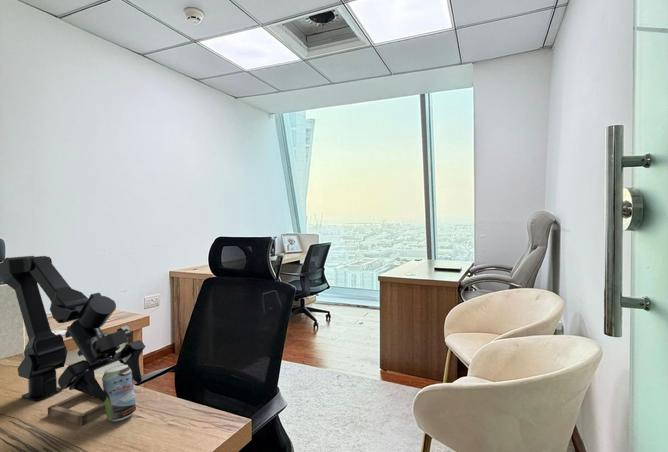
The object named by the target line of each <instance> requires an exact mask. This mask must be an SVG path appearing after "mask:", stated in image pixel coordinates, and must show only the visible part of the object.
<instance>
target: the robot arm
mask: <svg viewBox="0 0 668 452" xmlns="http://www.w3.org/2000/svg"><path fill="white" fill-rule="evenodd" d="M0 275H1V277H2V280H3V282H4V283H5V284H6V285H7V286H9V287H10V288H11V289H13V290H14V292H15V295H16V298H17V302H18V306H19V309H20V313H21V316H22V320H23V324H24V327H25V329H26V334H27V338H28V341H27V343H26V345H25V348H24V350H23V355H24V358H23V360H22V361H21V362H20V363H19V365H18V367H17V373H18V377H20V378H24V379H26V380H27V391H28V392H27V393H25V394H22V395H21V398H22V399H26V400H30V401H34V402H39V401H40V400H43V399H45V398H48V397H51V396H53V395H56V394H57V393H59V392H62V391H64V390H66V389H69V391H73V390H75V391H78V392H79V393H81V392H83V393H86V394H88V395H90V396H92V397H95V398H97V399H96V400H99V401H101V402H105V400H106V399H107V397H106V395H105V393H104V391H103V387H102V386H101V385H100V384H99V382H98V380H97V378H96V375H95V371H96V370H98V369H102V368H103V367H106V366H109V365H111V364H113V363H116V362H119V363H120V364H122V365H128V367H129V368H130V369H131V371H132V379H133V381H135V383H137V384H140V383H141V382H142V381H143V379H142V375H141V367H140V361H139V360H140V356H141V355H142V354H143V351H144V349H145V348H146V345H145V343H144V342H143V340H141V339H139V340H138V339H136V340H134V341H132V342H129V340H128V339H130V338H132V337H133V333H132V329H131V328H130V327H129V326H128V325H124V326H121V327H120V328H117V330H116V331H115V332H112V333H109V332H105V333H104V332H103V330H102V329H101V327H103V326H104V325H105V324H106V323H107V321H108V320H109V319H110V317H111V316H112V314H113V313H114V312H115V311H116V308H117V304H116V302H115V300H113V299H112V298H110V297H108V296H105V295H102V294H101V292H95V293H91V294H90V295H89V297H87V296H86V295H85V294H84V293H83V292H81V290H80V291H79V290H77V289H74V288H72V287H71V286H70V285H69V284H68V282H67V280H65V278H64V277H63V276H62V275H61V273H60V272H59V271H58V270H57V268H56V267H55V265H54V264H53V261H52V258H51V257H50V256H48V255H47V256H46V255H39V256H34V255H25V256H13V257H5V258H4V259H3V260H2V262H0ZM39 287H40V288H41V290H42V291H43V292H44V294H45V295H46V297H48V299H49V301H50V307H49V311H50V312H51V316H52V318H53V319H54V320H55V321H56V323H58V324H66V323H70V322H72V323H71V324H70V325H68V326H67V327H66V332H65V335H64V337H65V338H66V339H67V338H72V341H74V344H75V345H76V346H77V348H78V349H79V350H78V351H77V353H76V354H77V356H78V357H81V356H83V357H84V358H85V360H84V359H83V360H80V361H78V362H75V363H72V364H69V365H68V366H67V367H66V368H65V369H64V370H63V371H62V373H61V374H60V376H59V377H58V378H57V370H58V369H62V368H64V367H65V364H66V362H67V361H66V360H67V357H68V356H67V355H68V349H67V346H66V344H65V341H64V337H63V335H62V334H60V333H59V334H56V333H54V332H53V331H52V329H51V325H50V322H49V319H48V316H47V313H46V312H47V311H46V309H45V305H44V301H43V298H42V294H41V292H40V289H39ZM123 344H125V346H124V347H122V349H121V350H120V351H118V350H119V349H120V348H121V345H123ZM117 351H118V352H117ZM57 384H58V385H57ZM58 386H59V387H58ZM95 398H94V399H95Z"/></svg>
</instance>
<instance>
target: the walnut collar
mask: <svg viewBox="0 0 668 452" xmlns="http://www.w3.org/2000/svg"><path fill="white" fill-rule="evenodd" d="M89 399H95V400H98V399H97V398H95V397H92V396H90V395H88V394H86V393H83V392H79V393H76V394H75V395H72V396H70V397H67V398H66V399H63V400H62V401H59V402H57V403H55V404H53V405H50V406H48V407H47V416H48V417H50V418H54V419H58V420H62V421H66V422H68V423H72V424H75V425H79V426H83V425H85V424H87V423H89V422H91V421H93V420H94V419H97V418H99V417H100V416H102V415H104V414H106V408H105V401H103V403H100V404H99V405H96V406H95V407H93V408H91V409H89V410H87V411H85V412H81V411H76V410H74V409H73V410H72V409H70V408H72V407H75V406H77V405H78V404H81V403H83V402H85V401H87V400H89Z"/></svg>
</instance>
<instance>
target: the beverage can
mask: <svg viewBox="0 0 668 452" xmlns="http://www.w3.org/2000/svg"><path fill="white" fill-rule="evenodd" d="M103 373H104V374H103V375H102V376H101V377H102V378H101V380H102V390H103V391H104V393H105V395H106V397H107V399H106V400H105V401H104V402H105V408H106V413H105V415H106V420H108V421H111V422H120V421H122V420H126V419H127V418H129V417H131V416H132V415H133V413H135V412H136V410H137V405H136V397H135V389H134V388H135V387H134V379H133V378H132V371H131V369H130V368H129V367H128V365H123V364H120V365H116V366H113V367H110V368H107V369H105V370H104V371H103Z"/></svg>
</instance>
